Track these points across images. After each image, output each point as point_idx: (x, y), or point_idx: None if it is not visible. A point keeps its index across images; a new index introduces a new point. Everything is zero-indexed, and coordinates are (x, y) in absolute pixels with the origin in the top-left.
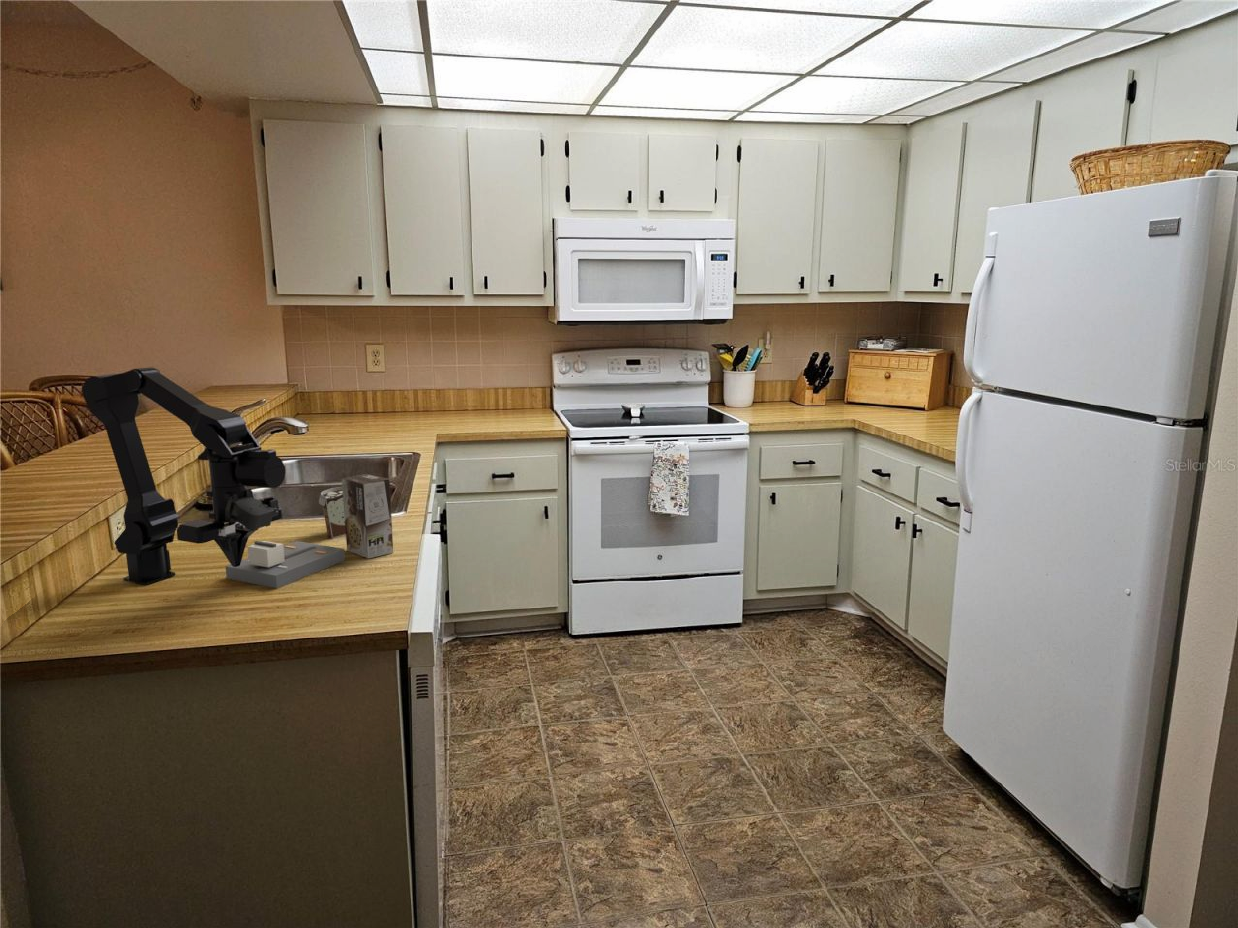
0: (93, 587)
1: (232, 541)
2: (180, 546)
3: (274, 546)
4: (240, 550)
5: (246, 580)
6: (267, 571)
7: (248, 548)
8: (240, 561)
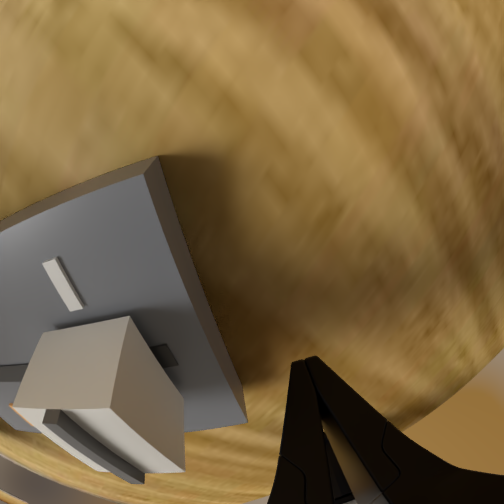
0: (400, 429)
1: (445, 480)
2: (209, 495)
3: (55, 412)
4: (318, 439)
5: (216, 330)
6: (149, 283)
7: (183, 461)
8: (294, 379)
